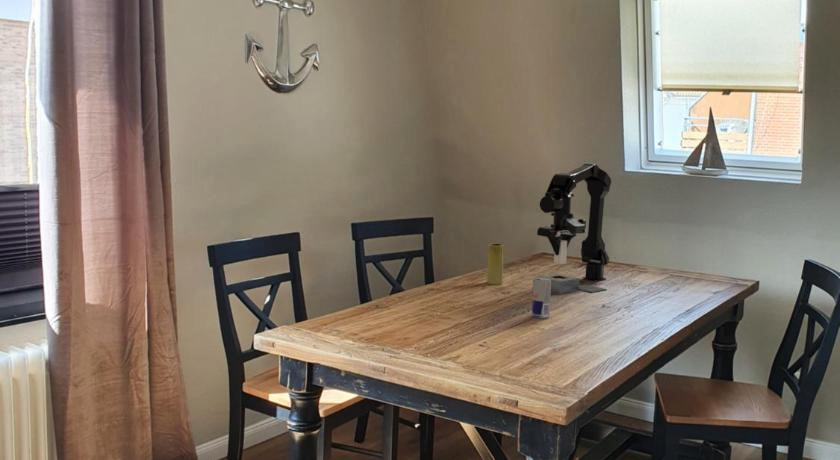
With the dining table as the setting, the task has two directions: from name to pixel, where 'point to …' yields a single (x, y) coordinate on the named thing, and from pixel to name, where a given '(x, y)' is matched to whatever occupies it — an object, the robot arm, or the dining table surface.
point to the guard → (563, 283)
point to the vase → (495, 264)
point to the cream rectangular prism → (561, 253)
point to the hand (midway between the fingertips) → (560, 254)
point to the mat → (591, 289)
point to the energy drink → (541, 297)
